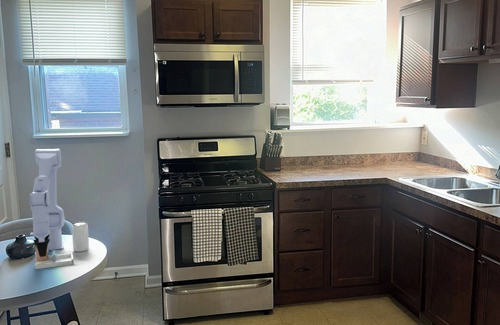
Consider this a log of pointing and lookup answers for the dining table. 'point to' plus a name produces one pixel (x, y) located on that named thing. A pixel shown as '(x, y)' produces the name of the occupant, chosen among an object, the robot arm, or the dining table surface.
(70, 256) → the pusher lane
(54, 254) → the pusher
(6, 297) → the dining table surface
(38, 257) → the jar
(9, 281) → the dining table surface
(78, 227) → the can
